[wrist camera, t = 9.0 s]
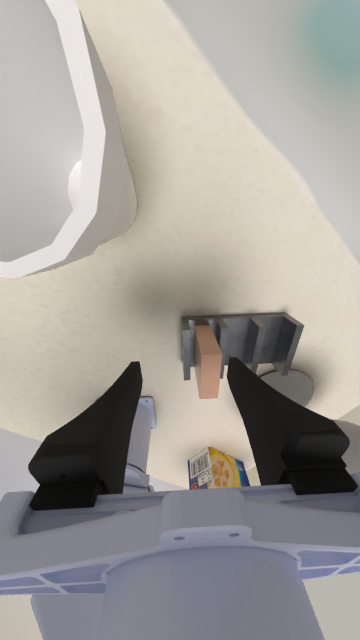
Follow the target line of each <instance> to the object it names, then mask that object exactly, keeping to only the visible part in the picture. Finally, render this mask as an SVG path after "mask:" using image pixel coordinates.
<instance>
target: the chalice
mask: <svg viewBox="0 0 360 640" xmlns="http://www.w3.org/2000/svg"><path fill="white" fill-rule="evenodd" d="M260 378H261V379H262V380H263V381H264V382H266V383H267V384H268V385H270V386H271V387H272V388H274V389H275V390H277V391H278V392H280V393H281V394H283V395H284V396H286V397H288V398H289V399H291V400H293V401H294V402H296V403H298V404H300V405H301V406H303V407H304V406H305V405H306V404H307V403H308V402H309V400H310V399H311V397H312V394H313V390H314V385H313V381H312V380H311V379H310V377H309V376H307V375H306V374H305V373H302V372H300V371H295V370H289V372H288V375H286V376H281V374H280V373H279V372H278V371H275V372H271V373H269V374H266V375H264V376H262V377H260ZM330 420H332V419H330ZM332 421H334V422H335V423H336V424H337V425H338V426H339V427H340V428H341V430H342V431H343V432H344V433H345V434H346V435H347V436H348V438H349V439H350V445H349V447H348V449H347V450H346V452H345V453H344V454H343V456H342V457H341V458H342V459H343V461H344V462H345V463H346V465H347V467H346V468H345V469H346V470H347V472H348V473H349V474H350V475H351V474H353V473H357V472H360V426H358V425H355V424H353V423H350V422H346V421H339V420H332Z"/></svg>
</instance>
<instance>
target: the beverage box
mask: <svg viewBox="0 0 360 640" xmlns="http://www.w3.org/2000/svg"><path fill="white" fill-rule="evenodd" d="M188 470H189V486H190V490H196V489H213V488H231V487H248V486H250V484H249V480H248V477H247V474H246V471H245V467H244V464H243V462H241V461H239V460H237V459H235V458H232V457H230V456H228V455H226V454H224V453H222V452H220V451H218V450H216V449H214V448H211V447H208V448H206V449H205V450H203V451H202V452H200V453H199V454H197V455H196V456H194V457H193V458H191V459H190V460H188Z"/></svg>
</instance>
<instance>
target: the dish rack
mask: <svg viewBox="0 0 360 640" xmlns="http://www.w3.org/2000/svg"><path fill="white" fill-rule="evenodd" d="M198 325H210V326H211V329H212V331H213V333H214V336H215V338H216V340H217V343H218V345H219V348H220V350H221V352H222V362H221V371H220V379H221V378H223V373H224V365H228V364H229V357H237V358H238V359H239V360H241V361H242V362H243V363H244V364H245V365H246V366H247V367H248V368H249V369H250V370H251V371H252V372H254V373H255V374H256V371H257V367H258V364H263V363H272V364H273V366H274V367H275V368H276V369H277V371H278V372H279V373H280V374H281V376H286V375H288V372H289V369H290V366H291V363H292V360H293V357H294V354H295V351H296V348H297V345H298V342H299V339H300V336H301V333H302V330H303V327H304V325H303V324H301V323H300V322H298V321H297V320H295V319H294V318H292V317H291V316H289V315H288V314H286V313H271V314H246V315H221V316H196V317H182V350H183V372H184V380H190V367H195V366H194V326H198Z"/></svg>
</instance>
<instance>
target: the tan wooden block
mask: <svg viewBox="0 0 360 640" xmlns="http://www.w3.org/2000/svg"><path fill="white" fill-rule="evenodd" d="M221 362H222V352H221V350H220V348H219V345H218V343H217V340H216V338H215V336H214V333H213V331H212V329H211V326H210V325H198V326H194V366H195V373H196V379H197V385H198V391H199V397H200V399H209V398H218V391H219V381H220V371H221Z"/></svg>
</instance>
